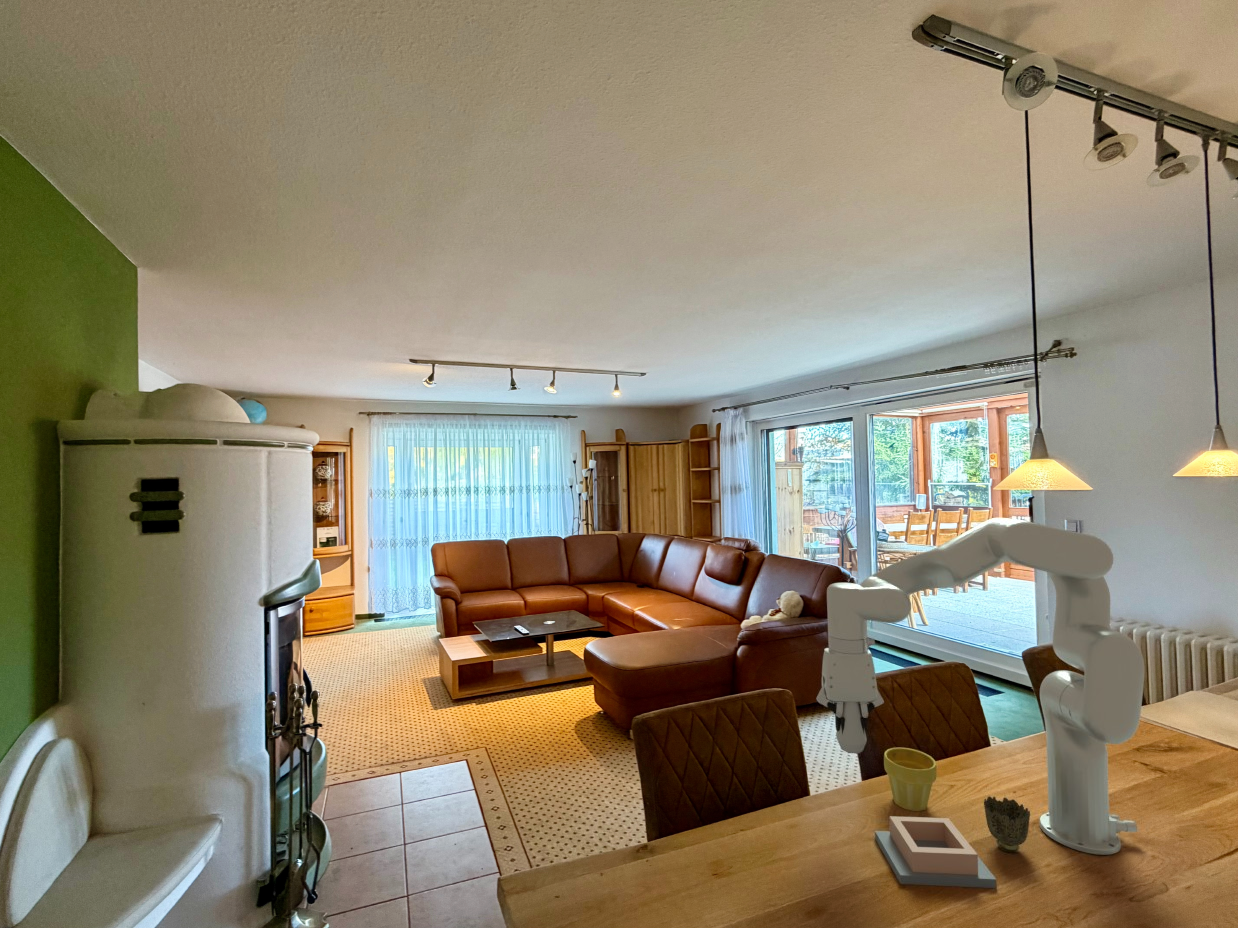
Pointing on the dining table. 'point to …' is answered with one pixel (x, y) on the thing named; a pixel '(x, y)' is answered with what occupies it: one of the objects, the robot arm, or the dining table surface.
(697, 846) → the dining table surface
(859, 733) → the salt shaker
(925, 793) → the plant pot
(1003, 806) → the cup
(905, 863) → the socket base
